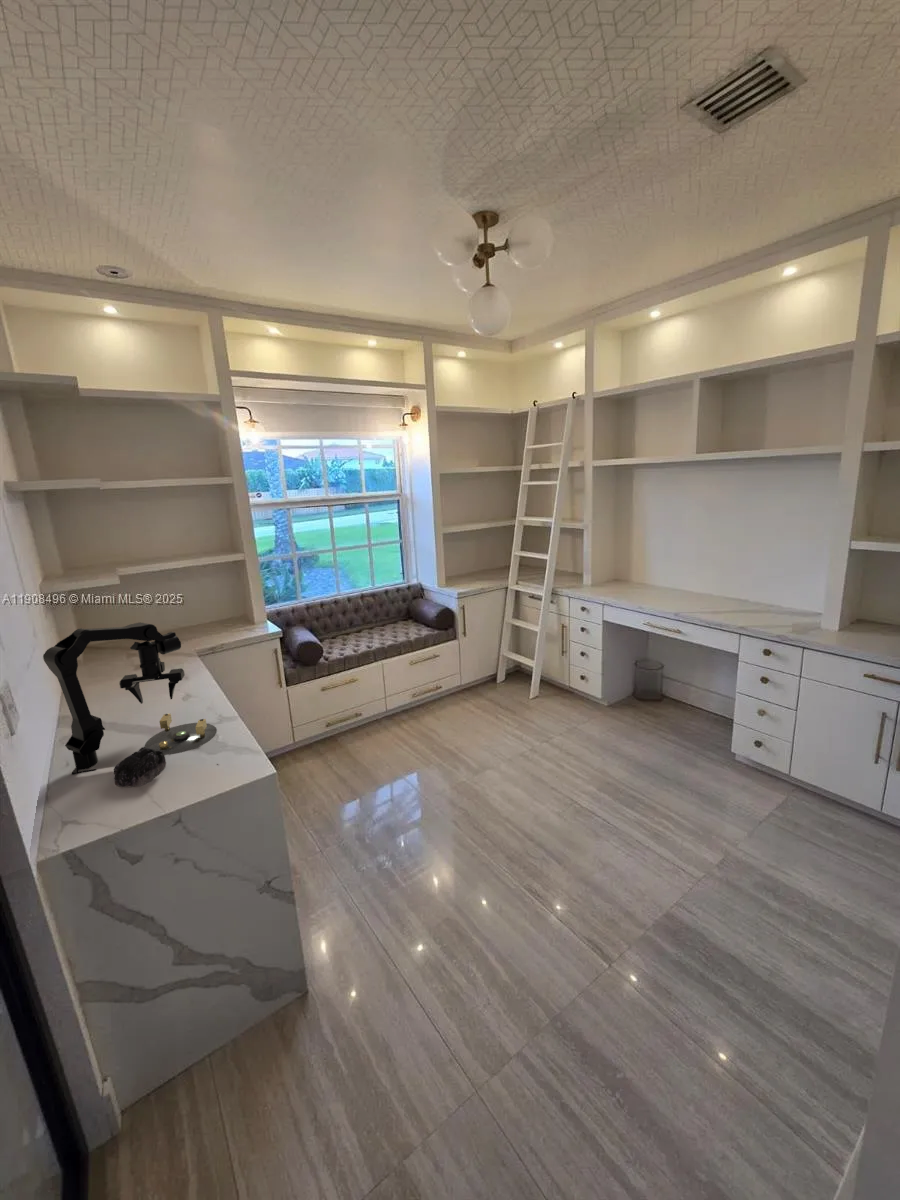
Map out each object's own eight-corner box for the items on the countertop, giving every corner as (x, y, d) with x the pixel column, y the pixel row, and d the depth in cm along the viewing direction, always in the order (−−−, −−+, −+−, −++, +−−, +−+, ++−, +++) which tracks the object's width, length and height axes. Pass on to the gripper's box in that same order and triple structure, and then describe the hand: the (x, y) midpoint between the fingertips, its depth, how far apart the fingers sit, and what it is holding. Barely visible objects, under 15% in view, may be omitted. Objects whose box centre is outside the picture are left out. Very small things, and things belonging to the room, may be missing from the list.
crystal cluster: (110, 778, 152) (101, 751, 148) (159, 757, 161) (151, 731, 157) (122, 800, 143) (113, 771, 139) (173, 776, 152) (165, 748, 148)
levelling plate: (211, 751, 164) (210, 742, 163) (135, 763, 159) (134, 753, 158) (221, 721, 185) (220, 713, 184) (155, 731, 179) (154, 723, 179)
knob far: (168, 733, 174) (166, 719, 173) (161, 734, 174) (159, 720, 172) (172, 726, 179) (170, 713, 178) (166, 727, 179) (163, 714, 178)
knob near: (204, 739, 169) (202, 725, 168) (197, 740, 168) (195, 726, 167) (207, 732, 174) (205, 718, 173) (200, 733, 174) (198, 719, 172)
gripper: (184, 648, 182) (190, 688, 185) (125, 655, 176) (133, 696, 180) (177, 658, 171) (184, 700, 175) (115, 665, 166) (123, 709, 169)
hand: (156, 701), depth 175 cm, fingers open, 9 cm apart
